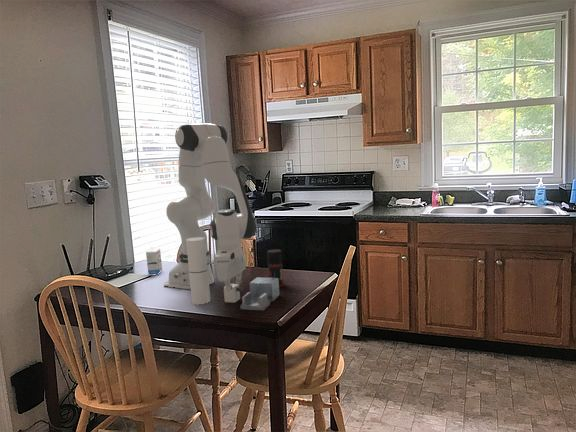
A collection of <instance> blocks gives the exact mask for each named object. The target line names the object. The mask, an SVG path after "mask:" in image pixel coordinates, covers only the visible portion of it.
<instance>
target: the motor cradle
mask: <svg viewBox="0 0 576 432" xmlns="http://www.w3.org/2000/svg"><path fill="white" fill-rule="evenodd" d="M279 296H280V287H279V281H278V278H269V277H259V276H257V277H255V278H254V279H252V281H250V282H249V291H248V292H247V293H245V294H244V295H243V296H241V302H242V303H241V304H240V310H246V311H247V310H248V311H265V310H266V309H267V308H268V307H269V306H270V305H271V302H274V301H275V300H276V299H277V298H278V297H279Z"/></svg>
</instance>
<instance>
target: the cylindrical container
mask: <svg viewBox="0 0 576 432" xmlns="http://www.w3.org/2000/svg"><path fill="white" fill-rule="evenodd" d="M186 245H187V256H188V266H189V277H190V287H191V289H190V297H191V304H193V305H198V306H199V304H201V305H205V303H206V304H208V302H209V303H210V302H211V292H210V291H211V290H210V285H209V279H208V268H207V256H206V245H205V238H204V237H195V238H189V239H186Z"/></svg>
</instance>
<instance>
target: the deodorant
mask: <svg viewBox="0 0 576 432" xmlns="http://www.w3.org/2000/svg"><path fill="white" fill-rule="evenodd" d="M266 256H267V269H268V278H278V281H279V288H282V287H284V273H283V260H282V250H281V249H279V248H278V249H277V248H276V249H269V250H267V251H266Z"/></svg>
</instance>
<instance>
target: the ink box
mask: <svg viewBox="0 0 576 432" xmlns="http://www.w3.org/2000/svg"><path fill="white" fill-rule="evenodd" d="M145 256H146V265H147V271H148V272H147V273H148V275H149V274H158V273H159V272H160V271H161V270H162V271H163V264H162V255H161V248H150V249H148V250H147V251H146V252H145ZM159 274H160V273H159ZM159 274H158V275H159Z"/></svg>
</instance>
